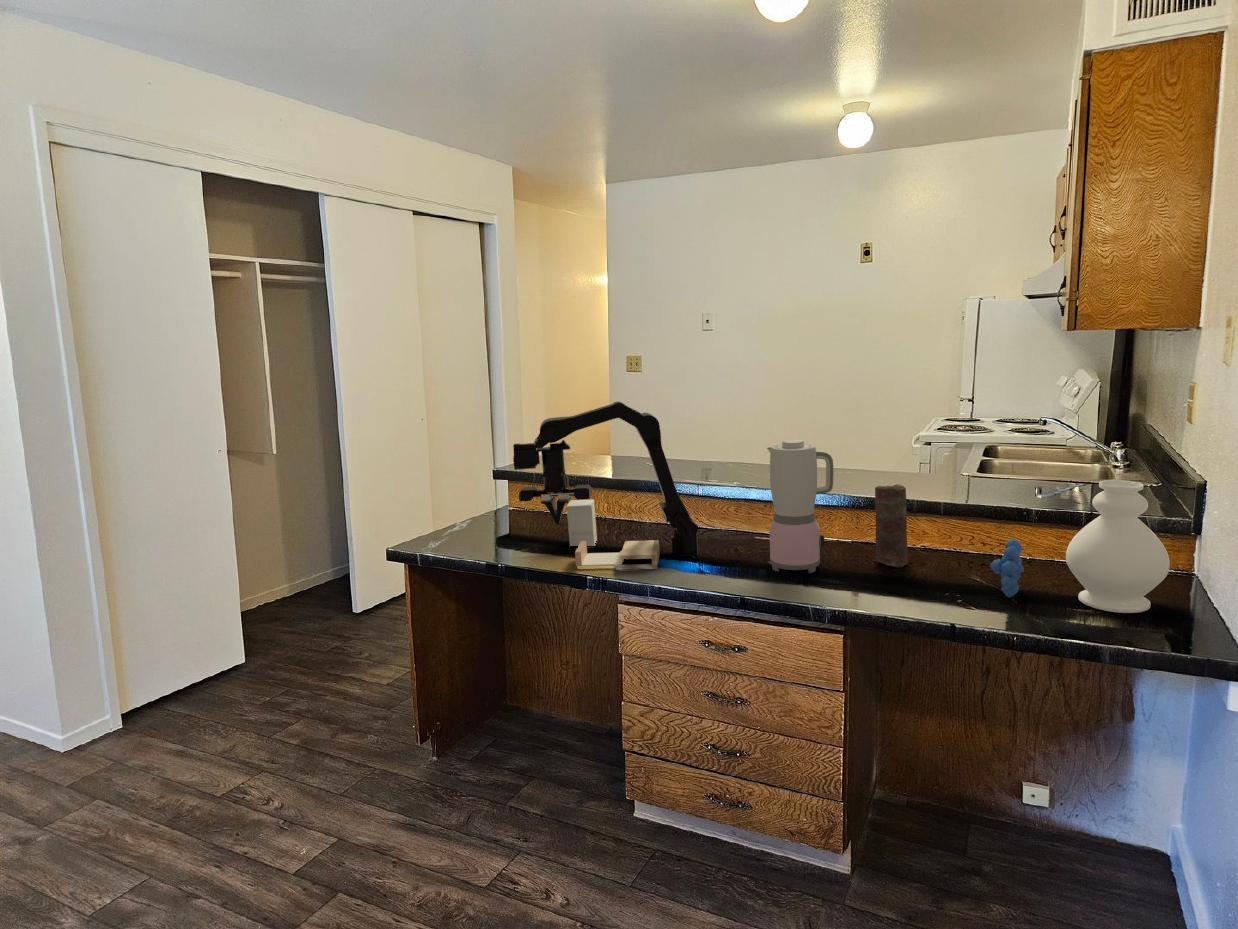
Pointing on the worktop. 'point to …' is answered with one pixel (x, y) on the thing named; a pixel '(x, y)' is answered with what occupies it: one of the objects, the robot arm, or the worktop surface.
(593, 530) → the supplement box
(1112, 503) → the decorative vase
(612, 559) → the beige blocky piece
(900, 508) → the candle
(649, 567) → the beige open box
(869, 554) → the worktop surface
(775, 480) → the blender
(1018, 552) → the grapes
